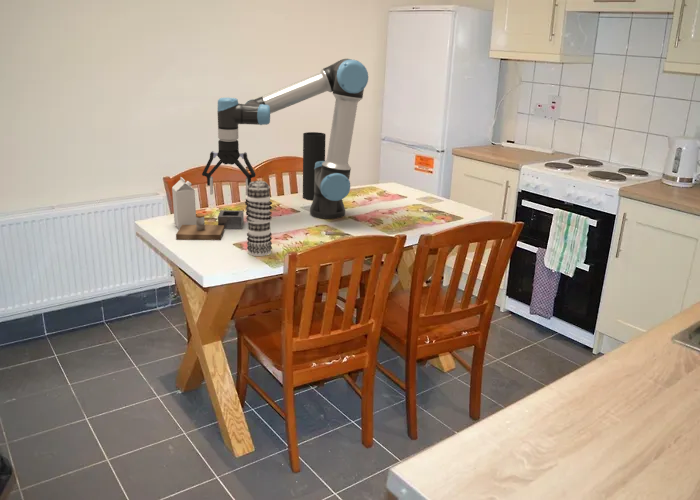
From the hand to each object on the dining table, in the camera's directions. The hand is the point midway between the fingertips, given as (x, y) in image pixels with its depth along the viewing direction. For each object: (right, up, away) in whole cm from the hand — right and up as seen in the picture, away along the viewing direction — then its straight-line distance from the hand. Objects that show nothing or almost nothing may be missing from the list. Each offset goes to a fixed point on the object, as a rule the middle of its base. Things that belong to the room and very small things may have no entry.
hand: (229, 194), depth 237 cm
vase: (+30, +3, +50) cm, 59 cm away
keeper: (-9, -16, -8) cm, 20 cm away
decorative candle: (+15, -23, -24) cm, 36 cm away
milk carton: (-18, -12, +2) cm, 22 cm away
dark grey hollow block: (0, -12, +4) cm, 13 cm away
